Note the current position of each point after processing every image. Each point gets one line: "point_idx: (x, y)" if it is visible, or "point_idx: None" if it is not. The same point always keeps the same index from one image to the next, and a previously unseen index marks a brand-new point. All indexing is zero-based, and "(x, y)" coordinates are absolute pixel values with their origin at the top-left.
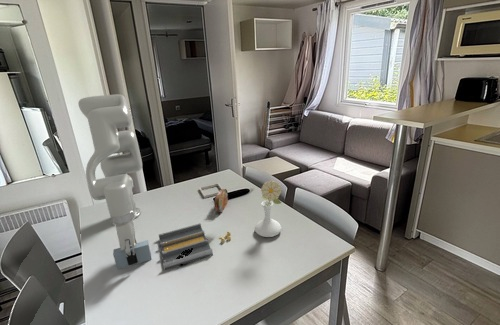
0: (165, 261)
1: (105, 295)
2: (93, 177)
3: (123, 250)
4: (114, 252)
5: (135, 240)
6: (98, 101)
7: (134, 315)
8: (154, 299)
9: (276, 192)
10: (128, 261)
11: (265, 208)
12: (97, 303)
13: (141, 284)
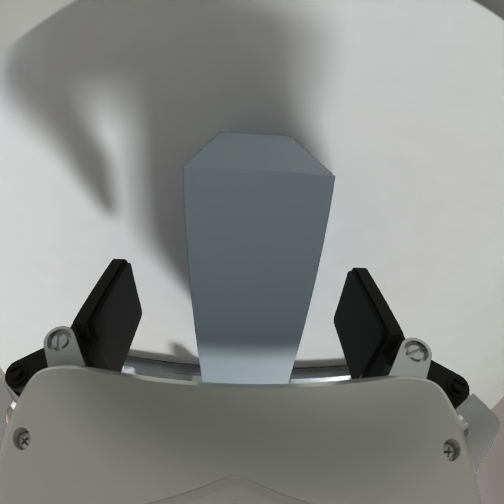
0: (156, 376)
1: (25, 100)
2: None
3: (216, 303)
4: (229, 188)
5: (353, 372)
6: None
7: None
8: (4, 294)
9: None
10: (100, 286)
11: None
12: (3, 79)
13: (51, 268)
